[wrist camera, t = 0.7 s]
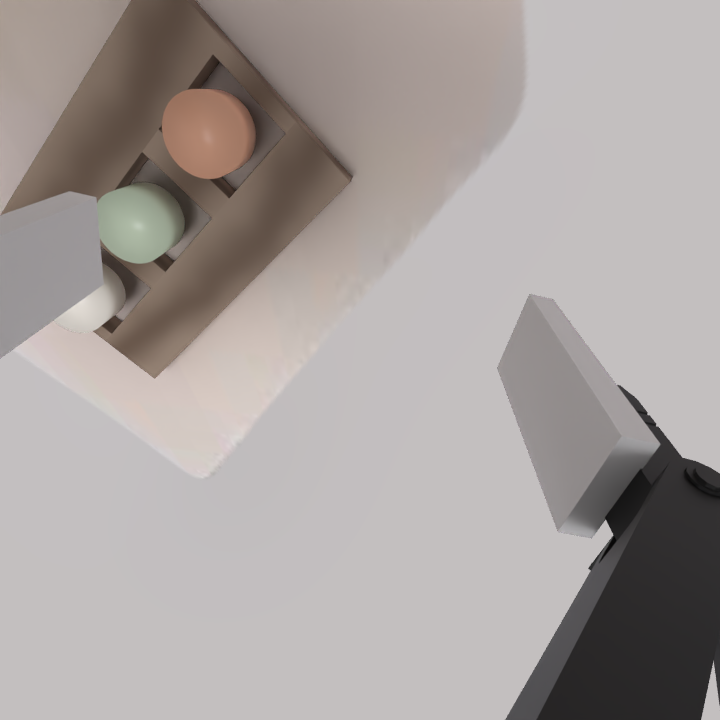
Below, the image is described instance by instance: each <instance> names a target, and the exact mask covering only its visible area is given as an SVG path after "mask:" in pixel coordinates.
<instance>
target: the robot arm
mask: <svg viewBox="0 0 720 720" xmlns="http://www.w3.org/2000/svg"><path fill="white" fill-rule="evenodd" d="M102 285H104V281H103V270H102V258H101V246H100V235H99V223H98V211H97V199H96V197H93V196H89V195H84V194H80V193H75V192H71V191H68V192H66V193H63V194H60V195H57V196H54V197H51V198H48V199H46V200H43V201H40V202H37V203H34V204H31V205H28V206H25V207H23V208H20V209H17V210H14V211H11V212H8V213H5V214H2V215H0V358H2V357H3V356H4V355H6V354H7V353H9V352H10V351H11V350H13V349H14V348H15V347H17V346H18V345H20V344H21V343H22V342H24V341H25V340H27V339H28V338H29V337H31V336H32V335H34V334H35V333H36V332H38V331H39V330H41V329H42V328H43V327H45V326H46V325H48V324H49V323H50V322H52V321H53V320H55V319H56V318H57V317H59V316H60V315H62V314H63V313H64V312H66V311H67V310H69V309H70V308H71V307H73V306H74V305H76V304H77V303H78V302H80V301H81V300H83V299H84V298H85V297H87V296H88V295H90V294H91V293H92V292H94V291H95V290H97V289H98V288H99V287H101V286H102ZM497 369H498V372H499V374H500V377H501V380H502V382H503V385H504V388H505V390H506V393H507V396H508V399H509V401H510V404H511V407H512V409H513V412H514V415H515V417H516V420H517V423H518V426H519V428H520V431H521V434H522V436H523V439H524V442H525V444H526V447H527V450H528V453H529V455H530V458H531V460H532V463H533V466H534V468H535V471H536V474H537V477H538V480H539V482H540V485H541V488H542V490H543V493H544V496H545V498H546V501H547V504H548V507H549V509H550V512H551V514H552V517H553V520H554V523H555V525H556V528H557V531H558V532H561V533H566V534H571V535H576V536H581V537H587V538H592V537H593V536H594V535H595V533H596V532H597V530H598V529H599V528H600V526H601V525H602V524H603V522H604V521H605V520H607V523H608V525H609V527H610V528H611V531H612V533H613V537H612V538H611V539H610V540H609V542H608V543H607V544H606V546H605V547H604V548H603V550H602V551H601V552H600V554H599V555H598V556H597V557H596V559H595V560H594V562H593V563H592V564H591V566H590V567H589V569H590V570H591V572H590V573H589V575H588V577H587V579H586V580H585V582H584V584H583V586H582V587H581V589H580V591H579V592H578V594H577V596H576V598H575V600H574V601H573V603H572V605H571V607H570V608H569V610H568V612H567V613H566V615H565V617H564V619H563V620H562V622H561V624H560V626H559V627H558V629H557V631H556V632H555V634H554V636H553V638H552V639H551V641H550V643H549V645H548V647H547V648H546V650H545V652H544V653H543V655H542V657H541V659H540V661H539V663H538V664H537V666H536V667H535V669H534V671H533V673H532V675H531V676H530V678H529V680H528V681H527V683H526V685H525V687H524V688H523V690H522V692H521V694H520V695H519V697H518V699H517V700H516V702H515V704H514V706H513V707H512V709H511V711H510V713H509V714H508V716H507V718H506V720H701V717H702V712H703V708H704V703H705V698H706V693H707V689H708V683H709V679H710V674H711V669H712V665H713V660H714V666H715V673H716V681H717V688H718V696H719V704H720V474H719V473H718V472H716V471H715V470H713V469H712V468H710V467H708V466H705V465H703V464H701V463H699V462H696V461H693V460H689V459H685V458H682V457H681V455H680V454H679V453H678V452H677V450H676V449H675V448H674V446H673V445H672V444H671V442H670V441H669V440H668V439H667V437H666V436H665V435H664V433H663V432H662V431H661V430H660V428H659V427H656V423H655V422H654V420H653V419H652V418H651V417H650V416H649V415H647V411H646V410H645V409H644V407H643V406H642V405H641V404H640V402H639V401H638V400H637V399H636V398H635V397H634V396H633V395H631V394H630V393H629V392H628V391H626V390H625V389H624V388H623V387H621V386H619V385H616V383H615V382H614V381H613V379H612V378H611V377H610V375H609V374H608V372H607V371H606V370H605V368H604V367H603V366H602V365H601V363H600V362H599V360H598V359H597V358H596V356H595V355H594V354H593V352H592V351H591V350H590V348H589V347H588V346H587V344H586V343H585V342H584V340H583V339H582V337H581V336H580V335H579V334H578V332H577V331H576V330H575V328H574V327H573V326H572V324H571V323H570V321H569V320H568V319H567V317H566V316H565V314H564V313H563V312H562V311H561V309H560V308H559V307H558V305H557V304H556V302H555V301H554V300H553V299H550V298H545V297H541V296H536V295H532V294H529V296H528V298H527V301H526V303H525V305H524V308H523V310H522V312H521V315H520V317H519V319H518V321H517V324H516V326H515V328H514V331H513V333H512V335H511V338H510V340H509V342H508V344H507V347H506V349H505V351H504V353H503V356H502V358H501V360H500V363H499V365H498V367H497Z"/></svg>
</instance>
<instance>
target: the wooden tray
mask: <svg viewBox="0 0 720 720" xmlns="http://www.w3.org/2000/svg"><path fill="white" fill-rule="evenodd" d="M219 62H221V63H222V65H223V66H224V67H225V68H226V69H227V70H228V71H229V72H230V73H231V74H232V75H233V77H234V78H235V79H236V80H237V81H238V82H239V83H240V84H241V85H242V86H243V88H244V89H245V90H246V91H247V92H248V93H249V94H250V95H251V96H252V97H253V98H254V100H255V101H256V102H257V103H258V104H259V105H260V106H261V107H262V108H263V109H264V110H265V112H266V113H267V114H268V115H269V116H270V117H271V118H272V119H273V120H274V121H275V122H276V124H277V125H278V126H279V127H280V128H281V129H282V130H283V131H284V132H285V133H286V134H285V135H284V136H283V137H282V138H281V140H280V141H279V142H278V143H277V144H276V145H275V147H274V148H273V149H272V150H271V151H270V152H269V153H268V155H267V156H266V157H265V158H264V159H263V160H262V161H261V163H260V164H259V165H258V166H257V167H256V168H255V170H254V171H253V172H252V173H251V174H250V175H249V176H248V178H247V179H246V180H245V181H244V182H243V183H242V185H241V186H240V187H239V188H238V189H237V190H236V191H235V190H234V189H233V188H232V187H231V186H230V185H229V184H228V183H227V182H226V181H225V180H224V179H223V178H222V177H219V178H215V179H203V178H199V177H196V176H193V175H191V174H190V173H188V172H186V171H185V170H183V169H182V168H181V167H180V166H179V165H178V164H177V163H176V162H175V161H174V159H173V158H172V157H171V155H170V153H169V152H168V149H167V147H166V145H165V142H164V138H163V133H162V119H163V114H164V111H165V109H166V106H167V105H168V103H169V102H170V100H171V99H172V98H173V97H174V96H176V95H177V94H179V93H180V92H182V91H185V90H189V89H200V88H201V86H202V85H203V83H204V82H205V81H206V79H207V78H208V77H209V75H210V74H211V73H212V71H213V70H214V69H215V67H216V66H217V65H218V63H219ZM148 158H149V159H150V160H151V161H152V162H153V163H154V164H155V165H156V166H157V167H159V168H160V169H161V170H162V171H163V172H164V173H165V174H166V175H167V176H168V177H169V178H170V179H171V180H172V181H173V182H174V183H175V184H176V185H177V186H179V187H180V188H181V189H182V190H183V191H184V192H185V193H186V194H187V195H188V196H189V197H190V198H191V199H192V200H193V201H194V202H195V203H196V204H198V205H199V206H200V207H201V208H202V209H203V210H204V211H205V212H206V213H207V214H208V215H209V216H210V217H211V218H212V219H211V220H210V221H209V223H208V224H207V225H206V226H205V227H204V228H203V229H202V231H201V232H200V233H199V234H198V235H197V236H196V237H195V239H194V240H193V241H192V242H191V243H190V244H189V246H188V247H187V248H186V249H185V250H184V251H183V252H182V254H181V255H180V256H179V257H178V258H177V259H176V260H175V262H173V261H172V260H171V259H170V258H169V257H168V256H167V255H165V254H162V255H161V256H159V257H158V258H156V259H155V260H153V261H151V262H148V263H142V264H138V263H131V262H128V261H125V260H123V259H121V258H119V257H117V256H116V255H114V254H113V253H112V252H111V251H110V250H109V249H108V248H107V247H106V246H105V245H104V244H103V242H102V241H101V239H100V246H101V247H102V248H103V249H105V250H106V251H107V252H108V253H109V254H111V255H112V256H113V257H114V258H115V259H117V260H118V261H119V262H120V263H121V264H122V265H124V266H125V267H126V268H127V269H128V270H130V271H131V272H132V273H133V274H134V275H136V276H137V277H138V278H139V279H140V280H141V281H143V282H144V283H145V284H146V285H147V286H149V287H150V288H151V289H150V290H149V292H148V293H147V294H146V295H145V296H144V297H143V298H142V300H141V301H140V302H139V303H138V304H137V305H136V307H135V308H134V309H133V310H132V311H131V312H130V313H129V315H128V316H127V317H126V318H125V319H124V320H123V322H121V321H120V320H119V319H118V318H116V317H115V316H113V317H112V318H110V319H109V320H108V321H107V322H105V323H104V324H103V325H102V326H100V327H99V328H98V329H96V330H94V331H93V332H95V333H96V334H97V335H99V336H100V337H101V338H102V339H104V340H105V341H106V342H108V343H109V344H110V345H112V346H113V347H114V348H115V349H117V350H118V351H119V352H121V353H122V354H123V355H125V356H126V357H127V358H128V359H130V360H131V361H132V362H134V363H135V364H136V365H138V366H139V367H140V368H141V369H143V370H144V371H145V372H147V373H148V374H149V375H151V376H152V377H153V378H156V377H157V376H158V375H159V374H160V373H161V372H162V371H163V370H164V369H165V368H166V367H167V366H168V365H169V364H170V363H171V362H172V361H173V360H174V359H175V358H176V357H177V356H178V355H179V354H180V353H181V352H182V351H183V350H184V349H185V348H186V347H187V346H188V345H189V344H190V343H191V342H192V341H193V340H194V339H195V338H196V337H197V336H198V335H199V334H200V333H201V332H202V331H203V330H204V329H205V328H206V327H207V326H208V325H209V324H210V323H211V322H212V321H213V320H214V319H215V318H216V317H217V316H218V315H219V313H220V312H221V311H222V310H223V309H224V308H225V307H226V306H227V305H228V304H229V303H230V302H231V301H232V300H233V299H234V298H235V297H236V296H237V295H238V294H239V293H240V292H241V291H242V290H243V289H244V288H245V287H246V286H247V285H248V284H249V283H250V282H251V281H252V280H253V279H254V278H255V277H256V276H257V275H258V274H259V273H260V272H261V271H262V270H263V269H264V268H265V267H266V266H267V265H268V264H269V263H270V262H271V261H272V260H273V259H274V258H275V257H276V256H277V255H278V254H279V253H280V252H281V251H282V250H283V249H284V248H285V247H286V246H287V245H288V244H289V243H290V242H291V241H292V240H293V239H294V238H295V237H296V236H297V235H298V234H299V233H300V232H301V231H302V230H303V229H304V228H305V227H306V226H307V225H308V224H309V223H310V222H311V221H312V220H313V219H314V218H315V217H316V216H317V215H318V214H319V213H320V212H321V211H322V210H323V209H324V208H325V207H326V206H327V205H328V204H329V203H330V202H331V201H332V200H333V199H334V198H335V197H336V196H337V195H338V194H339V193H340V192H341V191H342V190H343V189H344V187H345V186H346V185H347V184H348V183H349V182H350V181H351V179H352V176H351V175H350V174H349V173H348V172H347V171H346V170H345V168H344V167H343V166H342V165H341V164H340V163H339V162H338V161H337V159H336V158H335V157H334V156H333V155H332V154H331V153H330V152H329V150H328V149H327V148H326V147H325V146H324V145H323V144H322V143H321V141H320V140H319V139H318V138H317V137H316V136H315V135H314V134H313V132H312V131H311V130H310V129H309V128H308V127H307V126H306V125H305V124H304V122H303V121H302V120H301V119H300V118H299V117H298V116H297V115H296V113H295V112H294V111H293V110H292V109H291V108H290V107H289V106H288V104H287V103H286V102H285V101H284V100H283V99H282V98H281V97H280V95H279V94H278V93H277V92H276V91H275V90H274V89H273V88H272V86H271V85H270V84H269V83H268V82H267V81H266V80H265V79H264V77H263V76H262V75H261V74H260V73H259V72H258V71H257V70H256V69H255V67H254V66H253V65H252V64H251V63H250V62H249V61H248V60H247V58H246V57H245V56H244V55H243V54H242V53H241V52H240V51H239V49H238V48H237V47H236V46H235V45H234V44H233V43H232V42H231V40H230V39H229V38H228V37H227V36H226V35H225V34H224V33H223V31H222V30H221V29H220V28H219V27H218V26H217V25H216V24H215V22H214V21H213V20H212V19H211V18H210V17H209V16H208V15H207V14H206V12H205V11H204V10H203V9H202V8H201V7H200V6H199V5H198V3H197V2H196V1H195V0H131V2H130V4H129V5H128V7H127V8H126V10H125V12H124V13H123V15H122V17H121V18H120V20H119V22H118V23H117V25H116V27H115V28H114V30H113V31H112V33H111V35H110V36H109V38H108V40H107V41H106V43H105V45H104V46H103V48H102V49H101V51H100V53H99V54H98V56H97V58H96V59H95V61H94V63H93V64H92V66H91V68H90V69H89V71H88V72H87V74H86V76H85V77H84V79H83V81H82V82H81V84H80V86H79V87H78V89H77V91H76V92H75V94H74V95H73V97H72V99H71V100H70V102H69V104H68V105H67V107H66V109H65V110H64V112H63V113H62V115H61V117H60V118H59V120H58V122H57V123H56V125H55V127H54V128H53V130H52V132H51V133H50V135H49V136H48V138H47V140H46V141H45V143H44V145H43V146H42V148H41V150H40V151H39V153H38V155H37V156H36V158H35V159H34V161H33V163H32V164H31V166H30V168H29V169H28V171H27V173H26V174H25V176H24V177H23V179H22V181H21V182H20V184H19V186H18V187H17V189H16V191H15V192H14V194H13V196H12V197H11V199H10V200H9V202H8V204H7V205H6V207H5V209H4V210H3V212H2V214H5V213H8V212H11V211H14V210H17V209H20V208H23V207H25V206H28V205H31V204H34V203H37V202H40V201H43V200H46V199H48V198H51V197H54V196H57V195H60V194H63V193H66V192H68V191H71V192H75V193H80V194H84V195H89V196H93V197H96V199H97V203H98V201H99V200H100V198H101V197H102V196H104V195H105V194H107V193H108V192H111V191H114V190H117V189H120V188H123V187H125V186H128V185H129V184H130V182H131V181H132V180H133V178H134V177H135V176H136V174H137V173H138V172H139V170H140V169H141V168H142V166H143V165H144V163H145V162H146V161H147V159H148ZM2 214H1V215H2Z"/></svg>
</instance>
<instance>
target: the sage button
mask: <svg viewBox="0 0 720 720" xmlns="http://www.w3.org/2000/svg"><path fill="white" fill-rule="evenodd" d="M97 211H98V223H99V235H100V239H101V241H102V242H103V244H104V245H105V246H106V247H107V248H108V249H109V250H110V251H111V252H112V253H113V254H114V255H116V256H117V257H119V258H121V259H123V260H125V261H128V262H131V263H138V264H142V263H148V262H151V261H153V260H155V259H156V258H158V257H159V256H161V255H162V254H164V253H165V252H166V251H168V250H169V249H171V248H172V247H174V246H175V245H176V244H177V243H178V242H179V241H180V240H181V238H182V236H183V233H184V228H185V221H184V216H183V212H182V210H181V208H180V205H179V204H178V202H177V201H176V199H175V198H174V197H173V196H172V195H171V194H170V193H169V192H168V191H167V190H165V189H164V188H162V187H160V186H158V185H156V184H153V183H149V182H138V183H134V184H131V185H128V186H125V187H123V188H120V189H117V190H114V191H111V192H108V193H107V194H105V195H104V196H102V197H101V198H100V200H99V201H98V203H97Z"/></svg>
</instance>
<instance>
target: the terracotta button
mask: <svg viewBox="0 0 720 720" xmlns="http://www.w3.org/2000/svg"><path fill="white" fill-rule="evenodd" d="M162 133H163V138H164V142H165V145H166V147H167V149H168V152H169V153H170V155H171V157H172V158H173V159H174V161H175V162H176V163H177V164H178V165H179V166H180V167H181V168H182V169H183V170H185V171H186V172H188V173H190V174H191V175H193V176H196V177H199V178H203V179H215V178H219V177H222V176H224V175H226V174H228V173H230V172H232V171H234V170H236V169H238V168H240V167H242V166H243V165H244V164H245V163H246V162H247V161H248V160H249V159H250V157H251V155H252V153H253V151H254V148H255V142H256V131H255V126H254V122H253V119H252V117H251V115H250V113H249V111H248V110H247V108H246V107H245V106H244V104H243V103H242V102H241V101H240V100H239V99H238V98H236V97H235V96H234V95H232V94H230V93H228V92H226V91H223V90H218V89H189V90H185V91H182V92H180V93H179V94H177V95H176V96H174V97H173V98H172V99H171V100H170V102H169V103H168V105H167V106H166V109H165V111H164V114H163V119H162Z"/></svg>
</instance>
